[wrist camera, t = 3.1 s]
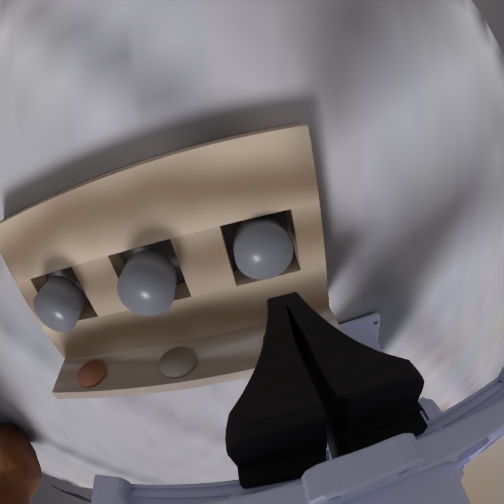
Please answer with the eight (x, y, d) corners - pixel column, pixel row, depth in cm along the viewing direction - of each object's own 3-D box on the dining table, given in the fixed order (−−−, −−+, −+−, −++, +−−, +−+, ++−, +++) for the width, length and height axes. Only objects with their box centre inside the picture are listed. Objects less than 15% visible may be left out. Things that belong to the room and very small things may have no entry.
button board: (321, 301, 24) (348, 352, 18) (76, 351, 23) (58, 400, 18) (298, 123, 17) (335, 130, 12) (3, 219, 17) (-41, 253, 11)
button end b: (92, 311, 19) (84, 329, 18) (58, 318, 19) (49, 334, 18) (70, 271, 18) (59, 287, 16) (36, 281, 18) (25, 296, 16)
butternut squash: (-25, 401, 27) (-59, 509, 5) (24, 417, 29) (-5, 548, 7) (12, 441, 34) (-8, 536, 11) (61, 456, 35) (47, 565, 13)
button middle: (184, 291, 19) (182, 309, 18) (136, 302, 19) (131, 320, 18) (166, 244, 18) (161, 260, 16) (116, 258, 18) (107, 274, 16)
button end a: (289, 257, 21) (296, 271, 19) (238, 269, 21) (241, 285, 19) (281, 209, 19) (288, 220, 17) (226, 222, 19) (228, 234, 17)
